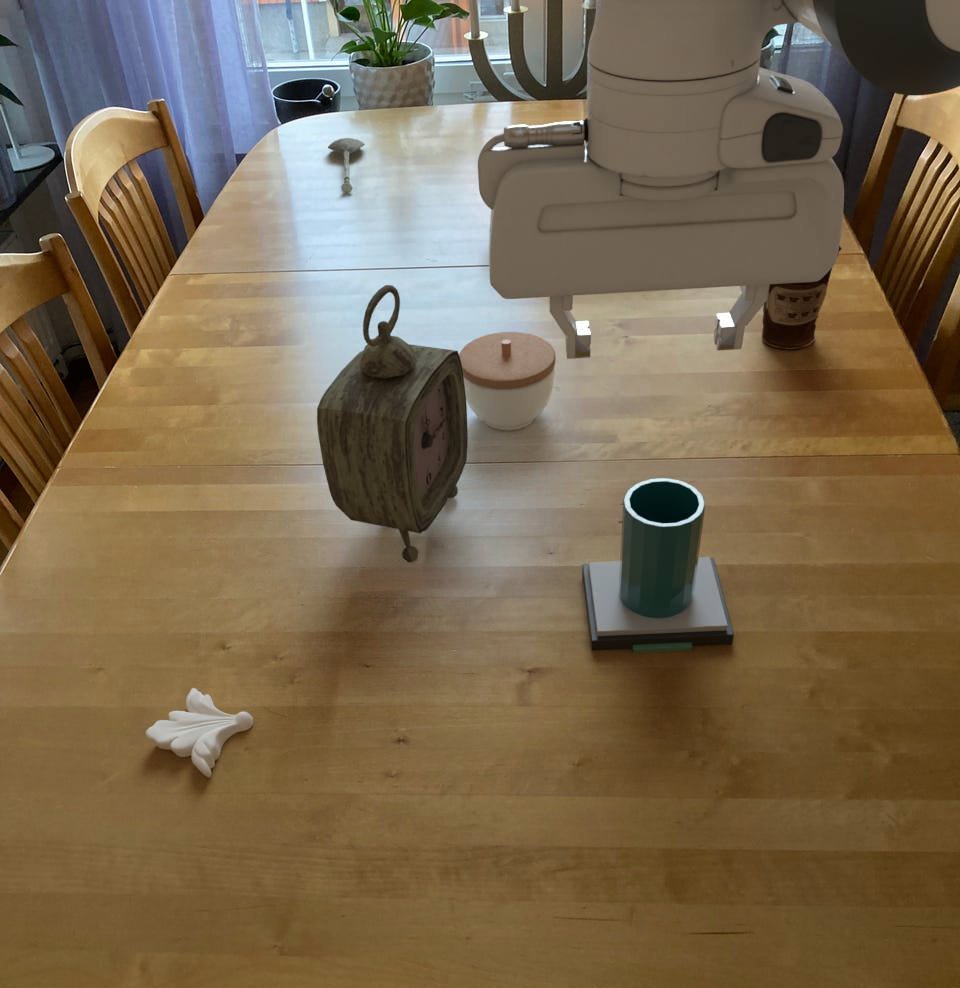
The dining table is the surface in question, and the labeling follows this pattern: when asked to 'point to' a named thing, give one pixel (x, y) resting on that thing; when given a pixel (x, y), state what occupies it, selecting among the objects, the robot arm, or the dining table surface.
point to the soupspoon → (346, 156)
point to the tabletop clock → (394, 431)
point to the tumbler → (660, 546)
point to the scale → (644, 634)
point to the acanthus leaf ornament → (198, 731)
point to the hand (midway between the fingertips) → (652, 350)
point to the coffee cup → (793, 312)
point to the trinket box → (508, 378)
